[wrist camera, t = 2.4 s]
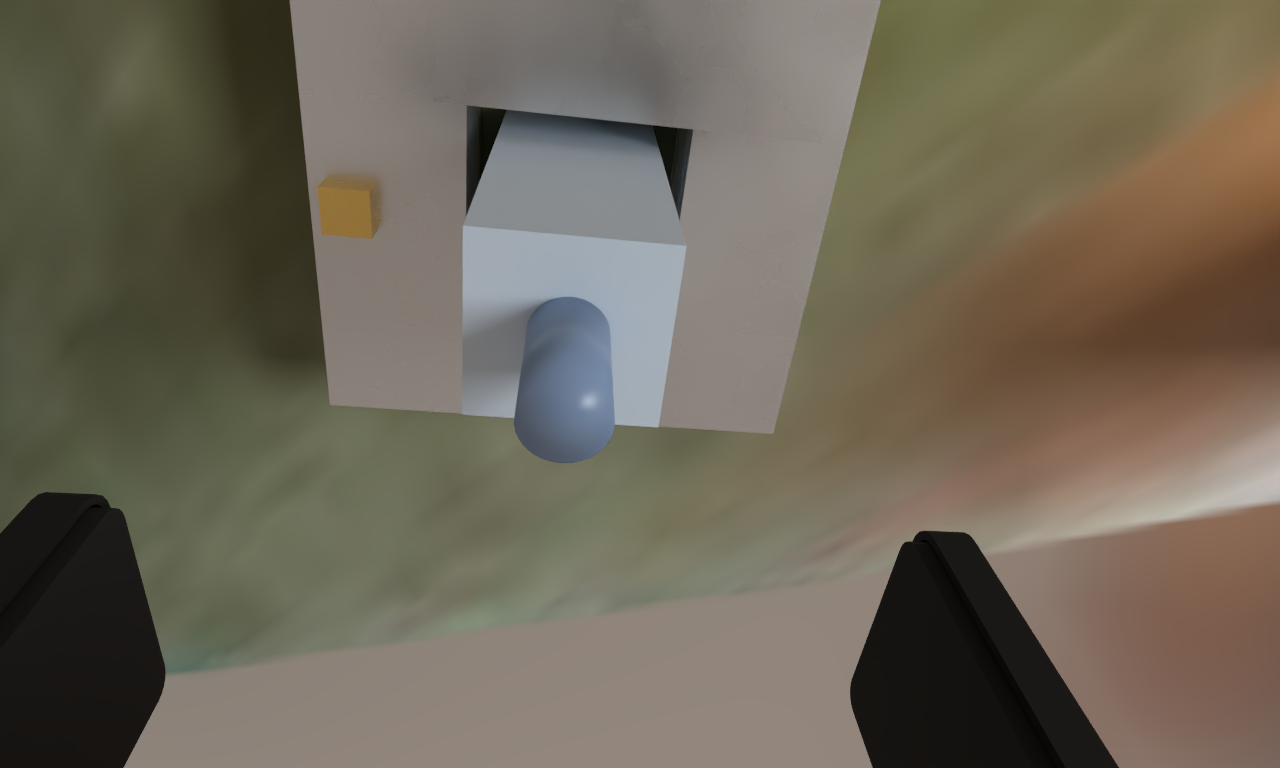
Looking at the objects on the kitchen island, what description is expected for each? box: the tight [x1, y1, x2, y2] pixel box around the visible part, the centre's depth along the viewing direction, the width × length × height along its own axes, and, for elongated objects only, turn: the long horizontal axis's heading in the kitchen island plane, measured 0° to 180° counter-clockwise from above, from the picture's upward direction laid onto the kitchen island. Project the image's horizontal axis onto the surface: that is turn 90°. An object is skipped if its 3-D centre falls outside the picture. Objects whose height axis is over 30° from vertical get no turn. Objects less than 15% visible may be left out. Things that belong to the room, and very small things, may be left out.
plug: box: [462, 110, 687, 463], centre depth 18 cm, size 5×4×12 cm
